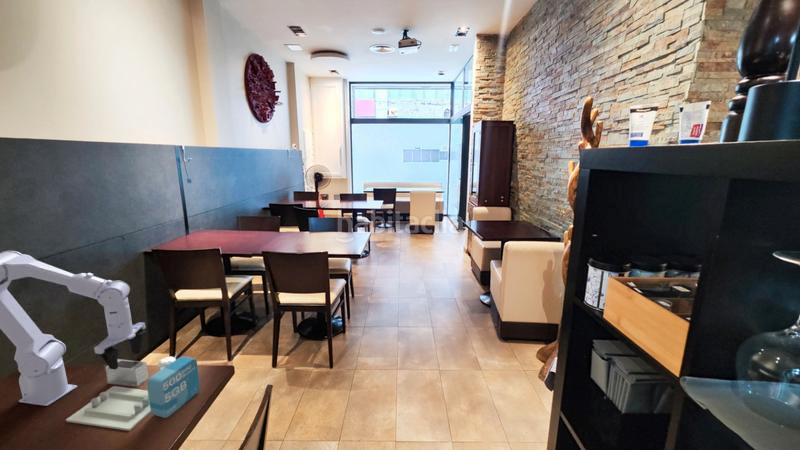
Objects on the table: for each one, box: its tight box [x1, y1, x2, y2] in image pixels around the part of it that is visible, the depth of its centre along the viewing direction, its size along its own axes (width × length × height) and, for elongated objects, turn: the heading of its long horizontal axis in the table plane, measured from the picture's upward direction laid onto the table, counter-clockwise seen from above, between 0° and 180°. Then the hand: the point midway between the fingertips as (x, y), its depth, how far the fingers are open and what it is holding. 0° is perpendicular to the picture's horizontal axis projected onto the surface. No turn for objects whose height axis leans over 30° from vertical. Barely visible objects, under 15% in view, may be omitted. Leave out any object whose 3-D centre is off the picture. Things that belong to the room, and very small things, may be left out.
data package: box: [146, 355, 201, 419], centre depth 93 cm, size 12×4×12 cm, turn 166°
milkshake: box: [157, 351, 178, 371], centre depth 101 cm, size 5×5×10 cm
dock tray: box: [65, 385, 151, 432], centre depth 91 cm, size 19×13×3 cm
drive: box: [104, 358, 149, 388], centre depth 102 cm, size 10×4×6 cm, turn 85°
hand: (125, 360), depth 101 cm, fingers open, 7 cm apart
